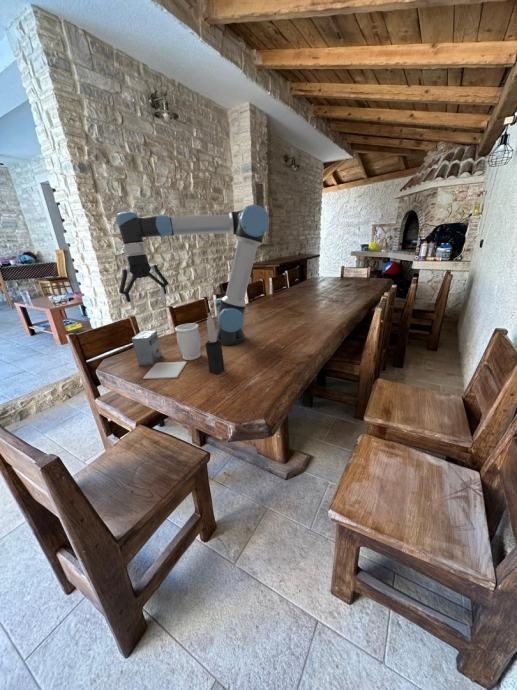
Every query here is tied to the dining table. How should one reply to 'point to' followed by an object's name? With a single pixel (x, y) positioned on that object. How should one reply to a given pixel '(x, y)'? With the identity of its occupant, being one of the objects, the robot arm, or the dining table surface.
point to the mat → (165, 370)
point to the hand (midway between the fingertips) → (149, 305)
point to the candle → (214, 349)
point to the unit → (147, 347)
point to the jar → (189, 340)
